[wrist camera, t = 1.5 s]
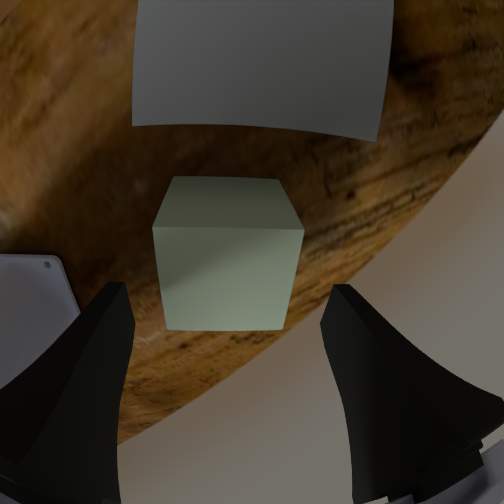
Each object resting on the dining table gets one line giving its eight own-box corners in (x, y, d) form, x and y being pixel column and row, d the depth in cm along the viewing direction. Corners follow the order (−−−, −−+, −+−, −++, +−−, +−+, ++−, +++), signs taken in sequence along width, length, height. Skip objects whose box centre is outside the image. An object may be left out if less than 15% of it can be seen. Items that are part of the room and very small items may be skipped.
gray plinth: (151, 115, 11) (132, 126, 9) (168, -54, 6) (156, -81, 4) (346, 128, 12) (375, 142, 10) (363, -31, 7) (393, -47, 5)
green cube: (178, 261, 16) (167, 329, 12) (173, 175, 13) (152, 226, 9) (266, 262, 16) (282, 329, 12) (277, 178, 14) (304, 230, 9)
